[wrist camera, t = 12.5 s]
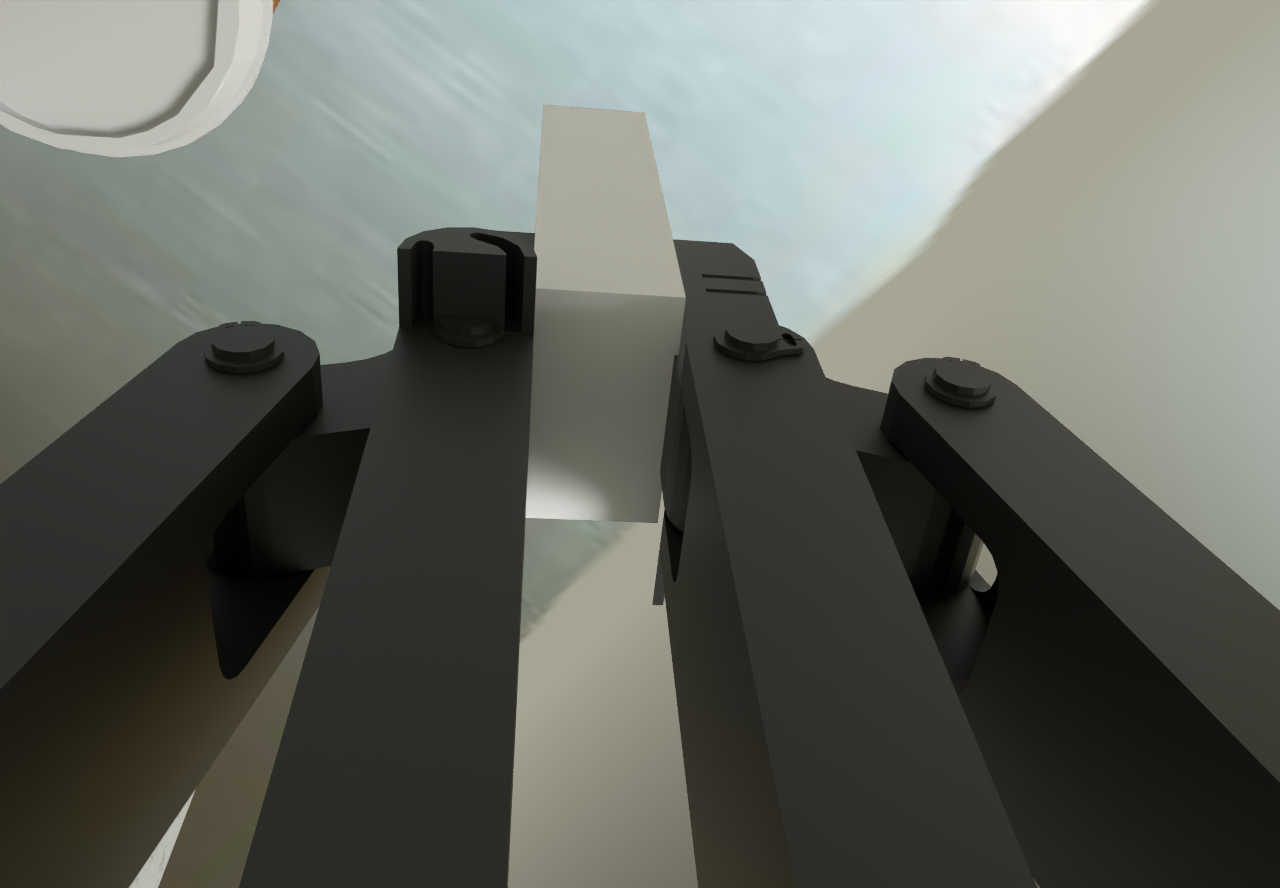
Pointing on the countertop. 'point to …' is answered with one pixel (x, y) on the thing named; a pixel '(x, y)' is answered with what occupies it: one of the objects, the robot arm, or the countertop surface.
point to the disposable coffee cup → (127, 70)
